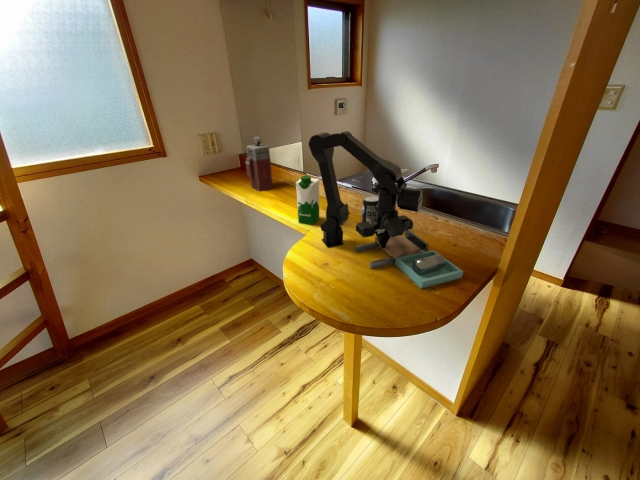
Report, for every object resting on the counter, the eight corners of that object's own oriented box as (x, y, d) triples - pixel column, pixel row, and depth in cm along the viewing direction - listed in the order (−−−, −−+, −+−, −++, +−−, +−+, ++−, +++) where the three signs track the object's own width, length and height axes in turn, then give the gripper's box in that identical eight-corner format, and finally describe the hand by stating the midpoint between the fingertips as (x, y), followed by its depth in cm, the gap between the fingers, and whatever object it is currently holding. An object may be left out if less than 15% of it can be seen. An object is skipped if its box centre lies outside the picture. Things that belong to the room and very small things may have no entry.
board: (394, 262, 99) (395, 254, 97) (374, 244, 109) (375, 237, 108) (419, 256, 102) (420, 249, 100) (397, 240, 112) (398, 232, 111)
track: (371, 269, 97) (372, 255, 95) (354, 251, 107) (355, 239, 105) (426, 256, 103) (428, 243, 101) (406, 240, 113) (407, 229, 111)
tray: (421, 289, 88) (422, 282, 86) (394, 264, 99) (395, 258, 98) (461, 278, 92) (463, 271, 91) (432, 255, 104) (433, 249, 102)
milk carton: (295, 223, 128) (293, 178, 118) (303, 215, 136) (301, 171, 126) (315, 226, 125) (314, 179, 116) (321, 217, 133) (321, 173, 123)
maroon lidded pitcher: (247, 188, 170) (240, 137, 156) (264, 184, 176) (259, 134, 163) (255, 192, 164) (249, 139, 150) (272, 188, 170) (268, 136, 157)
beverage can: (365, 221, 130) (366, 194, 124) (379, 224, 127) (382, 197, 121) (358, 226, 124) (360, 199, 119) (373, 230, 121) (376, 202, 116)
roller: (419, 276, 92) (422, 265, 90) (410, 268, 96) (413, 257, 94) (443, 270, 95) (446, 259, 93) (433, 263, 99) (436, 251, 96)
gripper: (373, 220, 86) (369, 265, 93) (427, 210, 91) (419, 254, 99) (356, 206, 95) (353, 248, 103) (406, 198, 101) (400, 239, 108)
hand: (382, 248), depth 103 cm, fingers closed
